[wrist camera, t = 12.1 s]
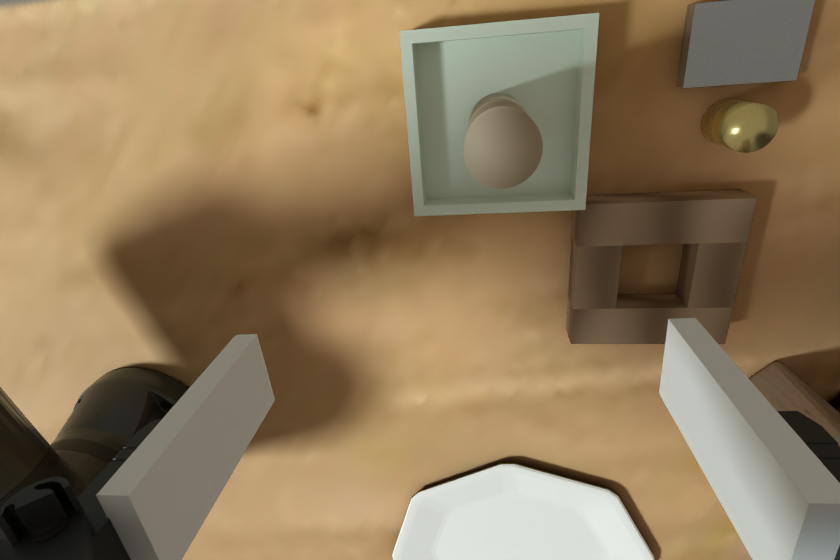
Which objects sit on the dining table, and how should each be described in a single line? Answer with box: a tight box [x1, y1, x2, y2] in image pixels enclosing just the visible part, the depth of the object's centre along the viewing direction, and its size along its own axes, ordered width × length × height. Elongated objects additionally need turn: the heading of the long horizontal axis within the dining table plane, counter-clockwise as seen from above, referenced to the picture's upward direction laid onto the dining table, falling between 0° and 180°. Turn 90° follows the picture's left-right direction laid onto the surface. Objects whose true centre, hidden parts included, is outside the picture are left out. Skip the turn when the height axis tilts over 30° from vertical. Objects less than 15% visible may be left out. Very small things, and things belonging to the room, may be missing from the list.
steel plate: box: [677, 0, 815, 88], centre depth 31 cm, size 7×5×1 cm
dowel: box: [464, 93, 543, 189], centre depth 30 cm, size 4×4×12 cm
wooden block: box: [749, 361, 840, 446], centre depth 35 cm, size 10×10×20 cm
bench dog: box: [701, 99, 779, 153], centre depth 32 cm, size 3×3×4 cm
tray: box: [399, 13, 599, 216], centre depth 35 cm, size 13×13×2 cm
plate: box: [392, 463, 654, 560], centre depth 55 cm, size 28×28×2 cm
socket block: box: [566, 189, 757, 344], centre depth 38 cm, size 12×12×2 cm
